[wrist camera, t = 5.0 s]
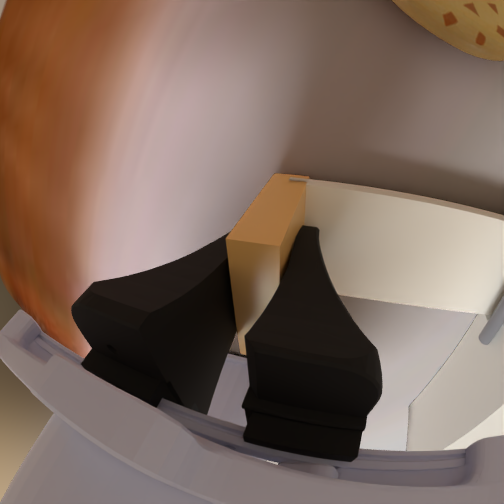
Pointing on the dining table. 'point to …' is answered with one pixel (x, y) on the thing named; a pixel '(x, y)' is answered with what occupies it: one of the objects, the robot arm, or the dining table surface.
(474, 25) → the toy food set
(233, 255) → the cream block orange end
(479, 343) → the cream rectangular block
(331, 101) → the dining table surface
